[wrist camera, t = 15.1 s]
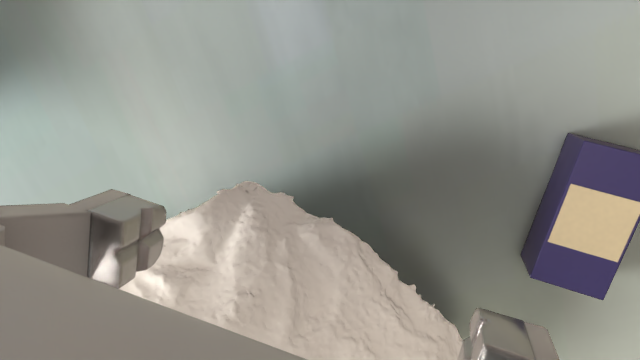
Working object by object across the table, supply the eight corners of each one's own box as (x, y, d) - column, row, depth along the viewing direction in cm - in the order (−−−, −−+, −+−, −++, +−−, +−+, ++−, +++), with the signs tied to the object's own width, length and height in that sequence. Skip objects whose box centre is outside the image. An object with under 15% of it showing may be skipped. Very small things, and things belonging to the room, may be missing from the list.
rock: (547, 449, 29) (163, 631, 37) (418, 217, 46) (175, 376, 54) (271, 245, 13) (-304, 649, 21) (231, 7, 30) (-73, 278, 38)
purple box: (567, 132, 31) (584, 140, 27) (640, 150, 30) (668, 161, 26) (520, 255, 33) (529, 278, 30) (585, 275, 32) (603, 301, 29)
